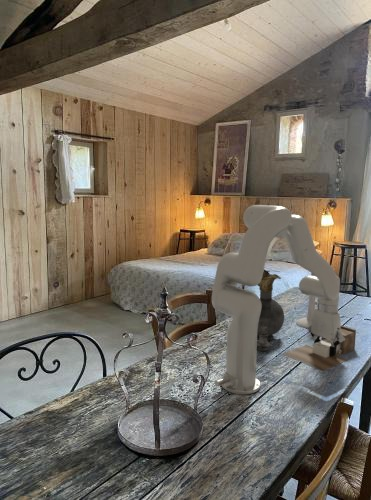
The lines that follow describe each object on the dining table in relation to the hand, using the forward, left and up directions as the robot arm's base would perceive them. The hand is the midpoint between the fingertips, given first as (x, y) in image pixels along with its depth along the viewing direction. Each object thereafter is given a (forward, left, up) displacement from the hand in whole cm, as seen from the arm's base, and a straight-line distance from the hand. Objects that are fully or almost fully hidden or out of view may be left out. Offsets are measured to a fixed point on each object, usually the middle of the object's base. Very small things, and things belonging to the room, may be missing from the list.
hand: (324, 352), depth 156 cm
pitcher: (-5, +28, -1) cm, 28 cm away
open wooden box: (-1, 0, -1) cm, 1 cm away
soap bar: (+4, 0, 0) cm, 4 cm away
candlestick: (+26, +25, -1) cm, 36 cm away
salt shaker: (-17, +16, -1) cm, 23 cm away
